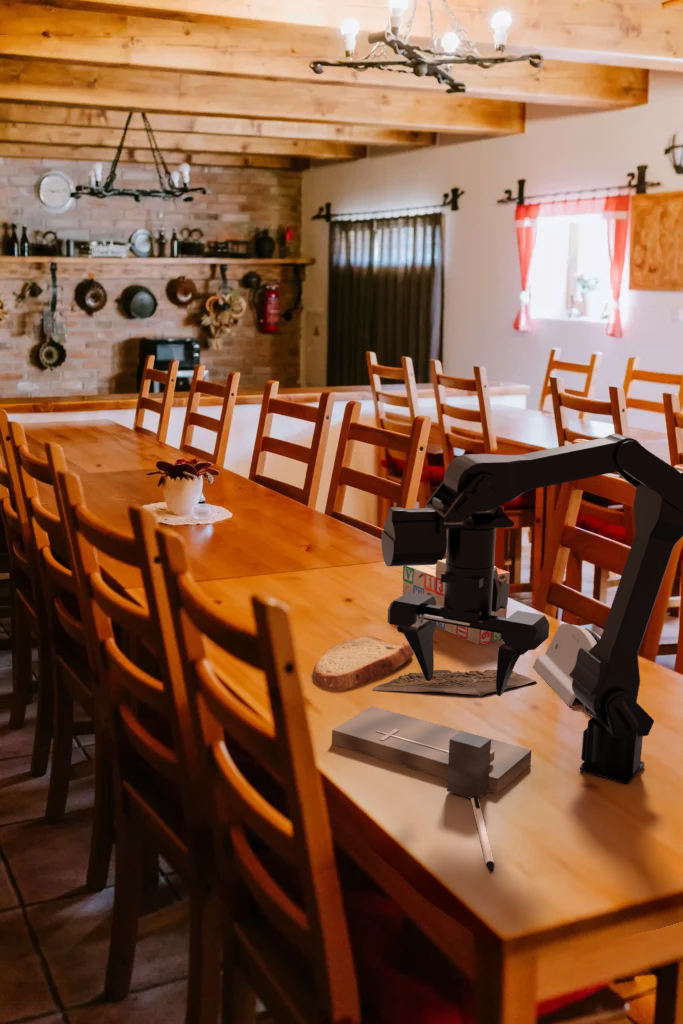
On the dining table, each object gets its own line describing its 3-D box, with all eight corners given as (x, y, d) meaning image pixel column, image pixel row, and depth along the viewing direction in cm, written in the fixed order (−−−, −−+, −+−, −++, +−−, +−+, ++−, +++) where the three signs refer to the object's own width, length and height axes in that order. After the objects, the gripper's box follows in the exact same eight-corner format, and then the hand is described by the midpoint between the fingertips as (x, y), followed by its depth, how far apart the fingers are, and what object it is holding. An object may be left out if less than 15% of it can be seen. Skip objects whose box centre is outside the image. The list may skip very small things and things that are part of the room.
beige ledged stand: (531, 666, 174) (555, 609, 173) (557, 674, 175) (581, 618, 174) (569, 706, 158) (595, 644, 156) (597, 715, 159) (624, 654, 158)
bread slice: (319, 694, 161) (319, 670, 161) (299, 653, 179) (299, 631, 178) (434, 688, 165) (436, 664, 164) (404, 648, 182) (405, 627, 181)
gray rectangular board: (530, 764, 139) (531, 749, 138) (496, 794, 131) (497, 777, 130) (371, 719, 152) (372, 705, 151) (331, 743, 143) (332, 728, 143)
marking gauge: (501, 778, 134) (505, 728, 132) (476, 800, 128) (479, 747, 127) (472, 770, 136) (475, 720, 135) (447, 790, 130) (449, 739, 129)
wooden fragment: (525, 671, 173) (525, 665, 172) (546, 697, 162) (547, 691, 162) (365, 675, 169) (365, 669, 169) (377, 703, 159) (377, 696, 158)
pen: (475, 792, 132) (476, 783, 131) (496, 877, 113) (496, 867, 113) (468, 792, 132) (468, 783, 131) (488, 877, 113) (488, 867, 113)
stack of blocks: (400, 612, 200) (403, 548, 198) (426, 607, 204) (429, 544, 201) (479, 645, 184) (483, 575, 181) (506, 639, 187) (510, 570, 185)
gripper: (567, 559, 130) (559, 681, 134) (426, 538, 139) (421, 654, 142) (537, 581, 121) (529, 711, 124) (387, 557, 130) (383, 680, 133)
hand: (463, 687), depth 131 cm, fingers open, 9 cm apart
